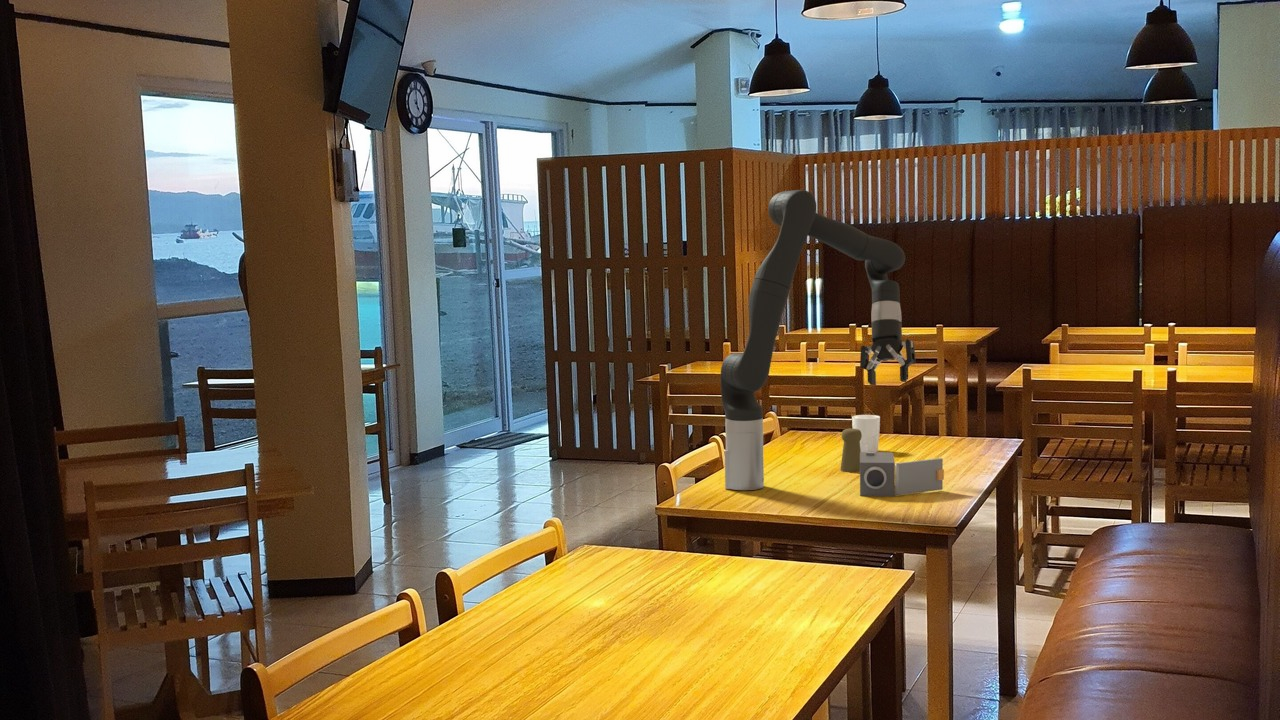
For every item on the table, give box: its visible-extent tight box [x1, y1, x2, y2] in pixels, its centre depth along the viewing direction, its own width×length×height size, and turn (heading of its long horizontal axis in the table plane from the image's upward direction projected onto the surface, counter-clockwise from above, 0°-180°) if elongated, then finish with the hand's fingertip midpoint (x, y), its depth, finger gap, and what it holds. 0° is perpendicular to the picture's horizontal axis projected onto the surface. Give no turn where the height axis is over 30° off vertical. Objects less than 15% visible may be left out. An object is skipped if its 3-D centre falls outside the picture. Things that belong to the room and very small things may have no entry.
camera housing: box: [859, 451, 896, 497], centre depth 286 cm, size 8×15×9 cm, turn 170°
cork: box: [839, 427, 862, 473], centre depth 312 cm, size 6×6×11 cm
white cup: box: [851, 414, 881, 452], centre depth 340 cm, size 8×8×10 cm
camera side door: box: [895, 457, 945, 496], centre depth 281 cm, size 2×14×8 cm, turn 115°
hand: (888, 383), depth 300 cm, fingers open, 8 cm apart
